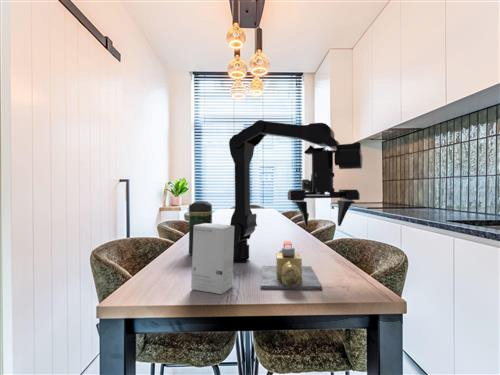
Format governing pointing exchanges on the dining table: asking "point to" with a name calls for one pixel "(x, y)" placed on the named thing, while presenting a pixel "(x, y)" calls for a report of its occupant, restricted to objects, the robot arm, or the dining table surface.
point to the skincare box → (212, 257)
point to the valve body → (289, 274)
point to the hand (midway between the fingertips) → (322, 226)
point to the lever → (288, 249)
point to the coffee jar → (198, 218)
